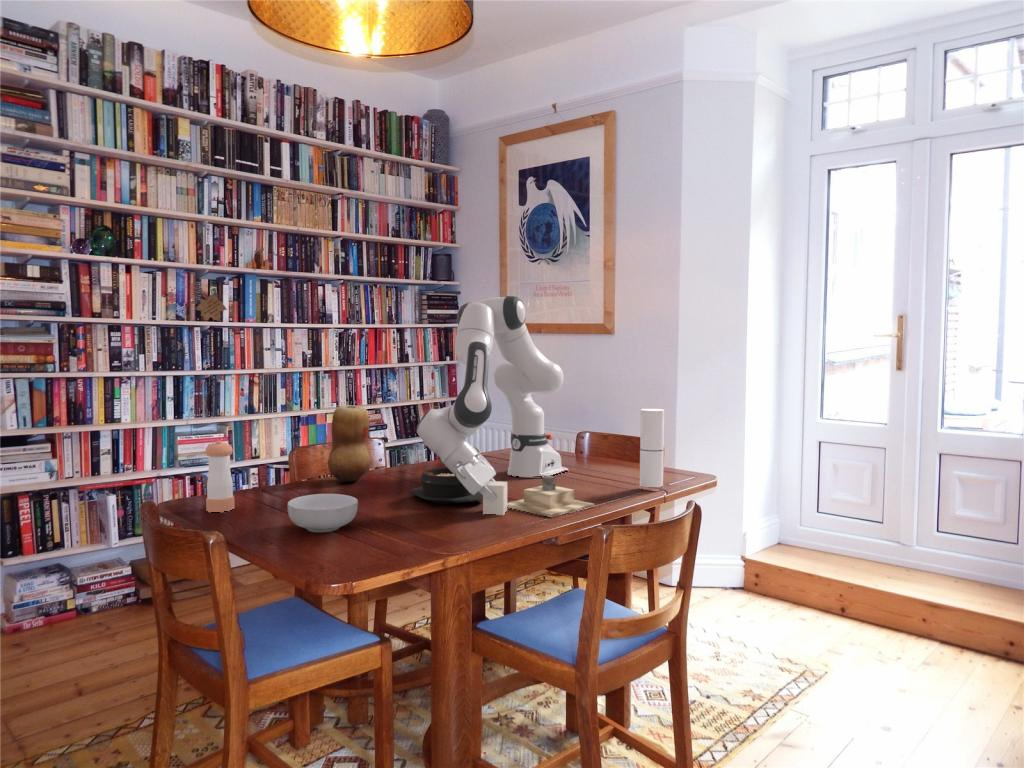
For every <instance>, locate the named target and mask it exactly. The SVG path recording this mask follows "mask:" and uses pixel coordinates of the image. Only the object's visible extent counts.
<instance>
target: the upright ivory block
mask: <svg viewBox="0 0 1024 768" xmlns="http://www.w3.org/2000/svg"><path fill="white" fill-rule="evenodd" d="M485 485H486V486H487V487H488V489H489V490H490V491H491V492H492V493H494V494H495V495H496V496H497V498H496V499H495V500H494V501H493V502H491V501H490V500H489V499H488V498H487V497H485V496H484V495H483V499H482V515H484V514H496V515H495V516H505V514H506V513H507V512H508V508H507V503H508V481H498V480H497V481H496V480H495V481H488V482H487V483H486V484H485ZM506 511H507V512H506ZM505 512H506V513H505Z"/></svg>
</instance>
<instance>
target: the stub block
mask: <svg viewBox="0 0 1024 768" xmlns="http://www.w3.org/2000/svg"><path fill="white" fill-rule="evenodd" d="M541 479H542V480H541V481H542V482H541V483H542V485H538V486H534V487H530V488H525V489H523V498H522V499H518V500H513V501H509V502H508V501H507V507H508V508H507V509H510V508H512V509H511V510H514V509H517V510H516V511H518V510H521V511H520V512H522V511H526V512H530V513H534V514H533V515H535V514H538V515H537V516H539V515H543V516H547V517H555V516H558V515H562V514H565V513H569V512H573V511H576V510H579V509H582V508H586V507H589V506H594V507H595V503H592V502H587V501H583V500H578V499H575V489H573V488H568V487H562V486H557V485H556V481H557V480H556V476H546V477H542V478H541ZM526 512H525V513H526ZM530 513H529V514H530ZM543 516H542V517H543ZM547 517H546V518H547ZM555 518H556V517H555Z"/></svg>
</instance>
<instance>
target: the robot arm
mask: <svg viewBox="0 0 1024 768" xmlns="http://www.w3.org/2000/svg"><path fill="white" fill-rule="evenodd" d="M526 312H527V311H526V307H525V304H524V302H523V300H521V298H520V297H518V296H515V295H507V296H497V297H488V298H485V299H480V300H476V301H473V302H472V301H469V302H465V303H463V304H462V305H461V306H460V307H459V308H458V309H457V313H456V321H457V322H456V323H457V325H458V327H457V330H456V331H457V332H456V337H455V357H457V359H458V360H459V361H460V362H461V363H462V364H464V365H465V371H464V382H463V387H462V389H461V391H460V392H459V394H458V395H457V396H456V398H455V400H454V402H453V404H452V405H450V406H446V407H442V408H430V409H428V410H427V411H426V412H425V413H424V414H423V416H422V417H421V419H420V420H418V423H417V425H416V433H417V434H418V436H419V438H420V439H421V440H422V442H423V443H424V444H425V446H426V447H428V449H429V450H430V451H431V452H432V453H433V454H436V455H437V456H438V457H439V459H440V460H441V462H442V464H443V465H445V467H447V468H448V469H449V470H450V471H451V472H452V473H453V474H454V475H456V476H457V478H458V480H459V481H460V482H461V483H462V484H463V486H464V487H465V488H466V489H467V490H468V491H469V492H470V493H471V494H473V495H475V494H476V493H477V492H478V491H479V492H480V493H481V494H482V495H484V496H485V497H487V498H488V499H489V500H490V501H491V502H493V501H494V500H495V499H496V498H497V496H496V495H495V494H494V493H492V492H491V491H490V490H489V489H488V487H487V486H486V485H485V484H486V483H487V482H488V481H496V480H495V476H496V475H497V473H496V470H495V469H494V467H493V466H492V465H491V464H490V462H489V460H487V459H486V458H485V457H484V456H483V455H482V454H481V453H482V451H481V450H480V448H478V447H477V446H475V445H472V444H470V443H469V442H468V440H467V439H468V438H470V437H471V436H473V435H474V434H475V433H476V432H477V431H478V430H479V428H480V427H481V426H482V425H483V424H484V423H485V422H486V421H487V420H489V418H490V416H491V413H492V409H493V407H492V402H491V398H490V394H489V391H488V382H489V380H488V378H489V368H490V367H489V365H490V358H491V357H492V353H493V346H494V340H495V342H496V344H497V347H498V349H499V352H500V354H501V356H502V357H503V359H504V360H505V361H506V362H505V361H504V362H502V363H499V364H498V365H497V366H496V368H495V370H494V374H493V380H494V383H495V386H496V387H497V389H499V390H500V391H501V392H502V393H503V395H504V396H505V398H506V400H507V401H508V404H509V409H510V413H511V427H512V428H511V431H512V432H511V434H510V444H511V448H510V453H509V454H510V455H509V463H508V467H507V475H508V476H511V475H512V477H516V476H519V477H518V478H534V477H533V476H542V477H544V476H550V475H553V474H556V473H559V472H561V471H564V470H568V471H569V468H568V467H565V466H562V457H561V454H560V453H559V452H557V451H556V450H555V449H554V448H553V447H552V446H550V445H549V441H551V440H553V438H554V436H553V434H552V433H545V412H544V409H543V408H542V407H541V406H539V405H538V404H537V403H535V401H534V400H533V397H532V395H533V394H535V395H549V394H554V393H557V392H559V391H560V389H561V388H562V386H563V384H564V380H565V378H564V377H565V376H564V372H563V369H562V368H561V366H559V364H557V363H555V362H553V361H551V360H550V359H548V358H547V357H546V356H545V355H544V354H543V353H542V352H541V351H540V350H539V349H538V348H537V347H536V345H535V343H534V341H533V339H532V337H531V335H530V333H529V330H528V327H527V325H526V318H527V313H526ZM548 440H549V441H548Z"/></svg>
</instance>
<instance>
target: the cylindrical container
mask: <svg viewBox="0 0 1024 768" xmlns="http://www.w3.org/2000/svg"><path fill="white" fill-rule="evenodd" d="M664 430H665V409H661V408H641V409H640V431H639V433H640V435H639V436H640V439H639V440H640V442H639V445H640V449H639V452H640V453H639V487H640V486H643V487H661V486H663V487H664V445H665V444H664V442H665V441H664V439H665V438H664V437H665V436H664V434H665V431H664Z"/></svg>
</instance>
